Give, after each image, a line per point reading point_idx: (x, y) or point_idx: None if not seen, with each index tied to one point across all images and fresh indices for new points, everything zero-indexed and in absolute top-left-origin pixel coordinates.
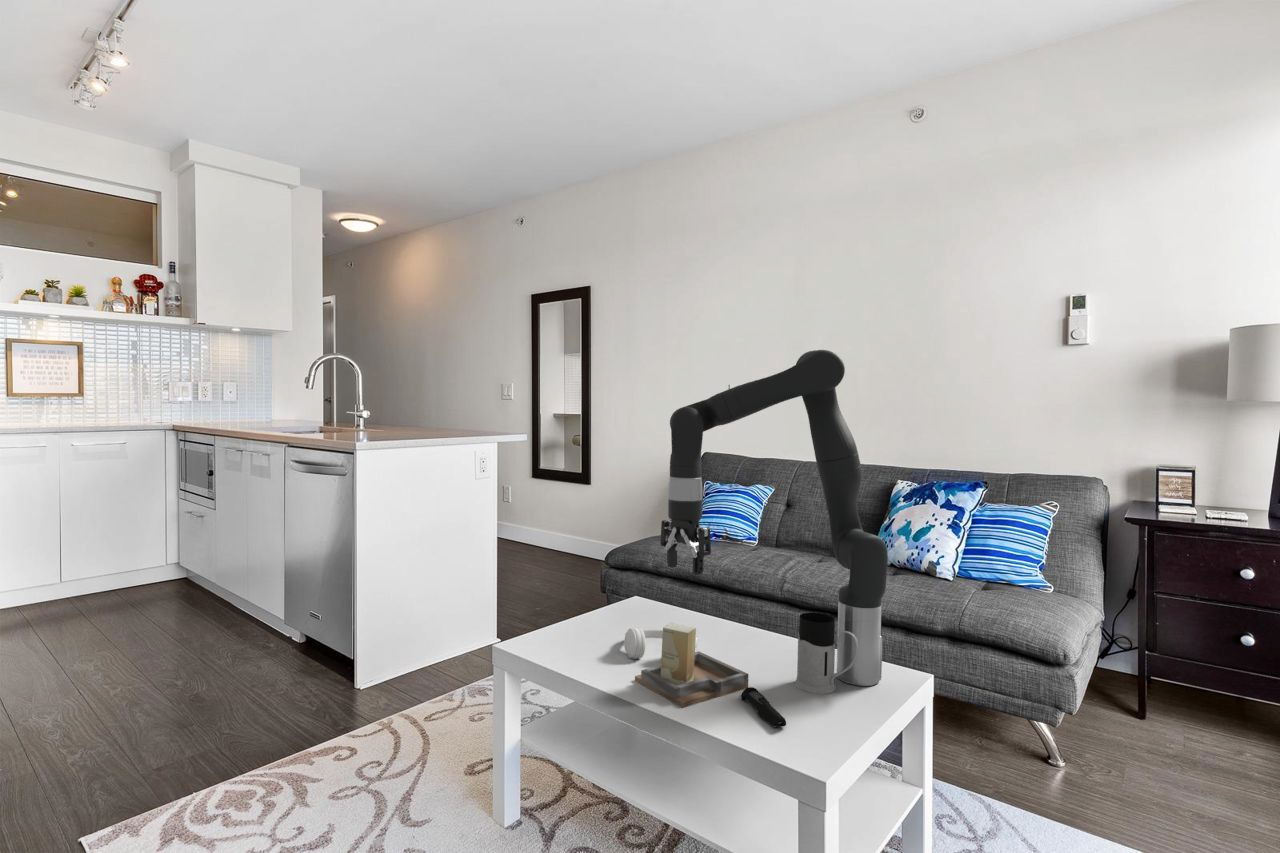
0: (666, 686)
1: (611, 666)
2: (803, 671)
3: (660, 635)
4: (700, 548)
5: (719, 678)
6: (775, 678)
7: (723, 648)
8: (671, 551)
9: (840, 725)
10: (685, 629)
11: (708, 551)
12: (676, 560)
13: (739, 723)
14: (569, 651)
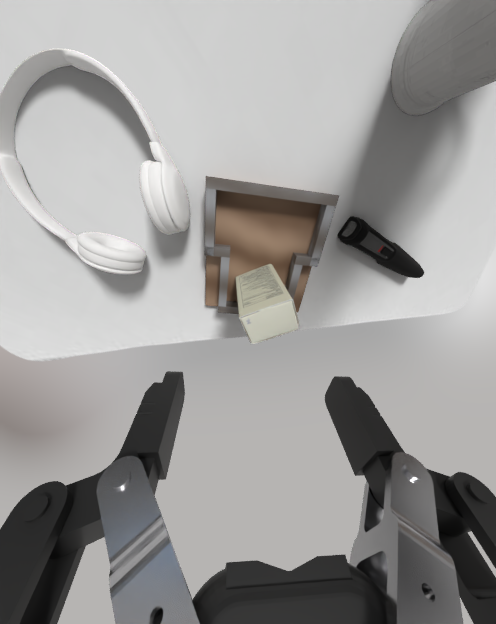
0: None
1: (147, 296)
2: (441, 97)
3: (14, 103)
4: (457, 558)
5: (288, 218)
6: (351, 104)
7: (159, 11)
8: (165, 472)
9: (480, 198)
10: (286, 323)
11: (485, 510)
12: (175, 395)
13: (364, 290)
14: (64, 307)
